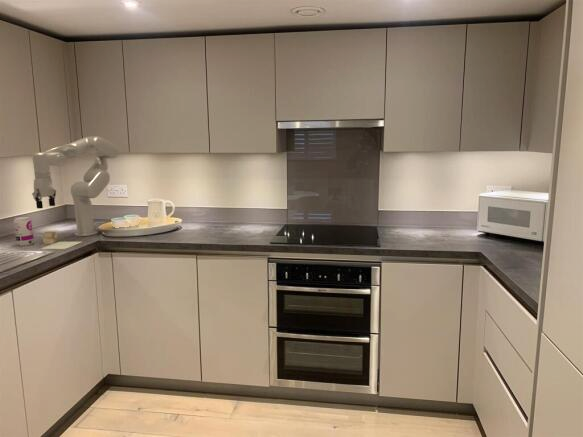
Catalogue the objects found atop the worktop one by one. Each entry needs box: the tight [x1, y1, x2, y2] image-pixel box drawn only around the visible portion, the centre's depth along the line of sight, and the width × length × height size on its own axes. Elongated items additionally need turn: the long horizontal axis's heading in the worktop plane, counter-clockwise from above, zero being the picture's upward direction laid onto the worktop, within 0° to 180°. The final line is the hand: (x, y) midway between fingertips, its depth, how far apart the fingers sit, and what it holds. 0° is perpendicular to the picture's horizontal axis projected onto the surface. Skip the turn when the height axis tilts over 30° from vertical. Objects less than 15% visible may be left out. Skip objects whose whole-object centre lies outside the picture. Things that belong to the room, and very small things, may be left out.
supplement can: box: [13, 216, 35, 247], centre depth 245 cm, size 8×8×15 cm
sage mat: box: [40, 241, 83, 250], centre depth 242 cm, size 16×14×1 cm
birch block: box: [41, 231, 59, 245], centre depth 249 cm, size 5×5×6 cm
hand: (46, 207), depth 245 cm, fingers open, 9 cm apart
